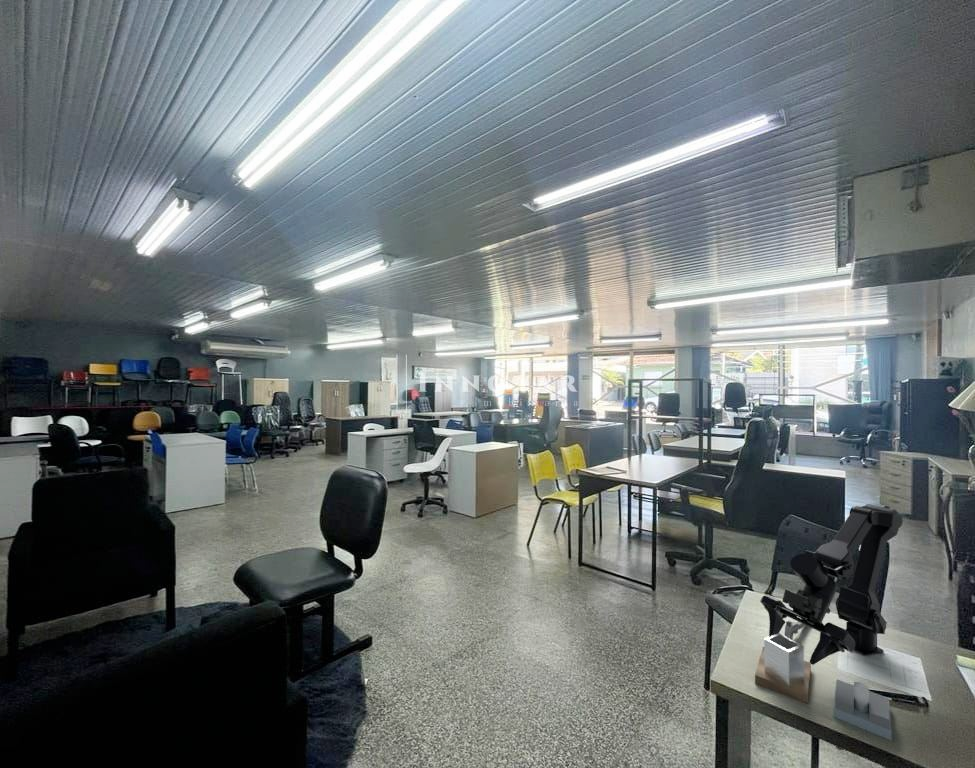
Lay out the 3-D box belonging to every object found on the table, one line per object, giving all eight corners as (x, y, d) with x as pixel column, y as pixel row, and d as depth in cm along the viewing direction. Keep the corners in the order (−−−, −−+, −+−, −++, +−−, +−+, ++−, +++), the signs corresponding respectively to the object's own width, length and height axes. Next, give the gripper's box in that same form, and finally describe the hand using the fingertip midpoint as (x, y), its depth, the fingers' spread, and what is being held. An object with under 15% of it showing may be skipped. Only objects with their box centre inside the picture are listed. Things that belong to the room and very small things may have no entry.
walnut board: (763, 654, 110) (763, 646, 110) (810, 670, 104) (810, 662, 104) (755, 683, 100) (755, 674, 100) (807, 703, 93) (807, 694, 93)
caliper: (789, 647, 114) (788, 624, 114) (784, 645, 114) (784, 622, 114) (813, 621, 126) (813, 600, 126) (809, 620, 127) (809, 599, 127)
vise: (836, 688, 98) (835, 659, 98) (889, 708, 92) (888, 677, 92) (833, 716, 90) (833, 684, 90) (891, 740, 84) (891, 705, 84)
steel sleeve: (779, 665, 103) (778, 632, 103) (803, 679, 98) (803, 645, 98) (764, 671, 101) (764, 638, 101) (789, 686, 96) (788, 652, 96)
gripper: (764, 563, 111) (737, 614, 107) (847, 595, 94) (819, 658, 90) (783, 586, 114) (757, 637, 110) (867, 621, 97) (840, 683, 93)
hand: (789, 651), depth 100 cm, fingers open, 9 cm apart
